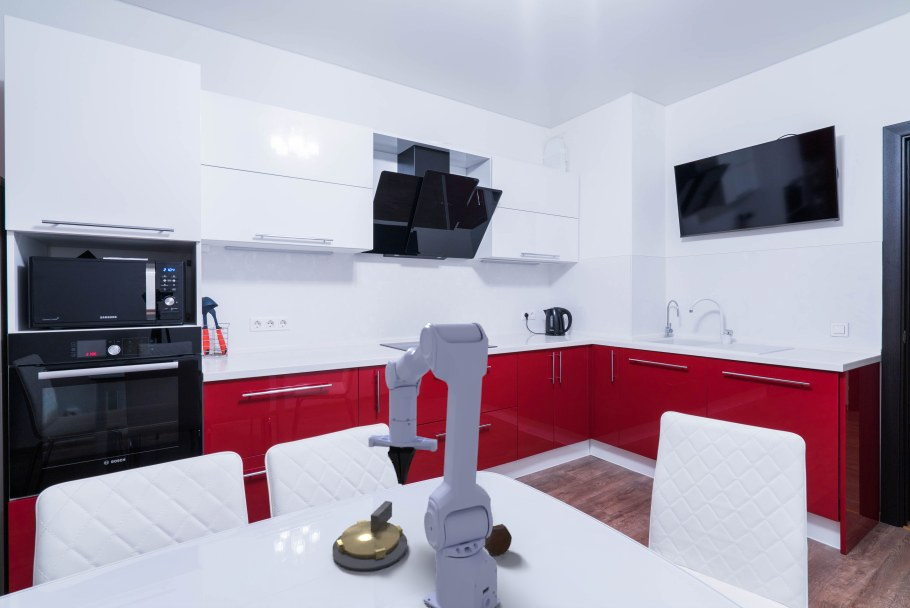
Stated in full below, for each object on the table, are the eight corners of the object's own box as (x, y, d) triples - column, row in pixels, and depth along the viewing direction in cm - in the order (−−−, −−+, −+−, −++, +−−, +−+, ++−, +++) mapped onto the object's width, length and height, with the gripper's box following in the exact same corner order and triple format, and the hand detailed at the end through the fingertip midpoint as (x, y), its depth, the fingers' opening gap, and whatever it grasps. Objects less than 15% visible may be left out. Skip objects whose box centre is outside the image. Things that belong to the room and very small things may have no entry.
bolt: (465, 528, 98) (503, 561, 85) (447, 521, 96) (484, 554, 83) (476, 502, 99) (516, 530, 86) (458, 495, 97) (496, 522, 84)
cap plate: (422, 548, 86) (422, 542, 86) (363, 582, 76) (363, 575, 76) (375, 524, 96) (375, 518, 96) (317, 551, 85) (317, 545, 85)
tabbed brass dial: (346, 568, 77) (346, 542, 77) (330, 534, 88) (330, 512, 88) (413, 549, 83) (413, 526, 83) (390, 520, 94) (390, 499, 94)
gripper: (440, 415, 97) (440, 477, 97) (377, 411, 100) (376, 472, 100) (433, 423, 90) (432, 491, 90) (364, 419, 93) (364, 485, 93)
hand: (402, 482), depth 94 cm, fingers closed
